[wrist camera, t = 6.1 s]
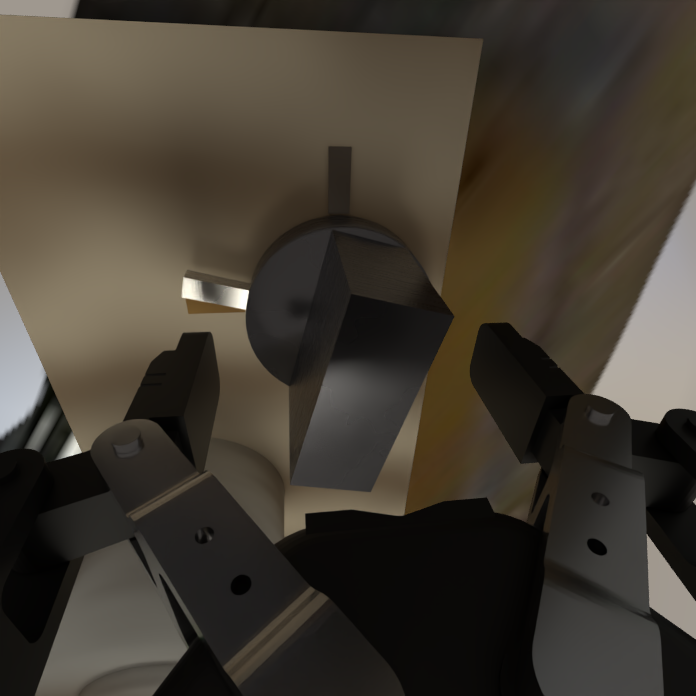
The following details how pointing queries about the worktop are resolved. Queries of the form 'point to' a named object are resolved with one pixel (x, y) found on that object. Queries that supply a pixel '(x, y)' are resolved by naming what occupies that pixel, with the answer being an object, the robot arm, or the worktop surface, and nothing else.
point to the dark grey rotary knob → (338, 340)
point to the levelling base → (203, 246)
